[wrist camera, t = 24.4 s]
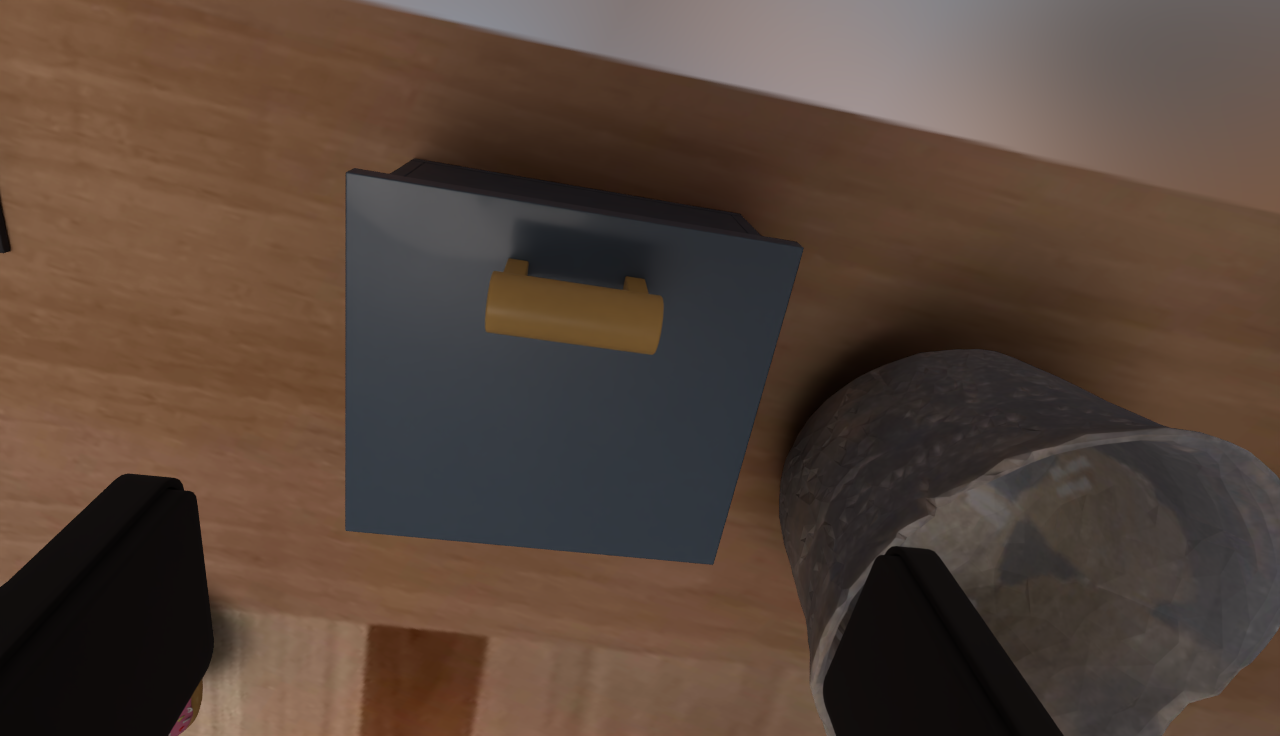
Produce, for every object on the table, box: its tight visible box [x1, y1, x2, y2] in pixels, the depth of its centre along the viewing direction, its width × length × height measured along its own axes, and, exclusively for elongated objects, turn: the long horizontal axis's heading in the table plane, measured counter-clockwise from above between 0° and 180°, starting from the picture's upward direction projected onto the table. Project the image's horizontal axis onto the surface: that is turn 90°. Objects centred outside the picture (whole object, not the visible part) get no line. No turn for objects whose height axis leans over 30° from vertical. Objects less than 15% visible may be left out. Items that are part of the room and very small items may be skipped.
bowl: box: [779, 349, 1280, 736], centre depth 31 cm, size 18×18×15 cm
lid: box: [345, 168, 803, 565], centre depth 23 cm, size 14×15×5 cm
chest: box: [390, 158, 761, 236], centre depth 30 cm, size 13×15×9 cm
